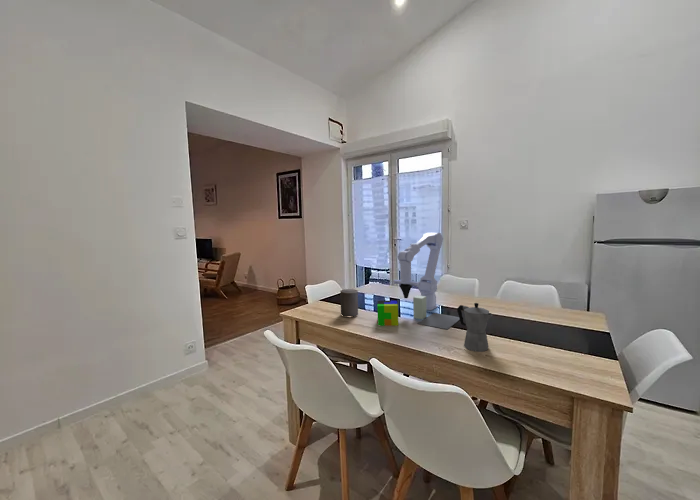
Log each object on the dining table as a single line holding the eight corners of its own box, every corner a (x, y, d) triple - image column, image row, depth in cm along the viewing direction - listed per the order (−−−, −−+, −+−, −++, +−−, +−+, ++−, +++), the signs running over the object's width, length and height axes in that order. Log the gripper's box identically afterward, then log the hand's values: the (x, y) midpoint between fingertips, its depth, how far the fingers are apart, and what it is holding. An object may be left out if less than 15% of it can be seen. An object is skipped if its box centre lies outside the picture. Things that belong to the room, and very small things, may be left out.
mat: (434, 313, 166) (434, 312, 166) (461, 318, 157) (461, 317, 157) (417, 323, 151) (417, 323, 151) (447, 329, 141) (447, 328, 141)
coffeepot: (498, 349, 118) (499, 304, 117) (484, 356, 113) (484, 308, 112) (464, 337, 131) (464, 296, 130) (450, 343, 126) (450, 300, 124)
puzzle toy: (397, 319, 159) (396, 300, 158) (398, 325, 149) (397, 305, 148) (378, 319, 160) (377, 300, 159) (377, 325, 150) (377, 305, 149)
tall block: (417, 315, 164) (417, 295, 163) (426, 316, 161) (426, 296, 160) (413, 317, 160) (412, 297, 159) (422, 319, 157) (422, 298, 156)
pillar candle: (338, 317, 165) (337, 290, 164) (344, 311, 175) (343, 286, 173) (355, 318, 163) (355, 290, 161) (360, 312, 172) (359, 286, 170)
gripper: (390, 273, 165) (390, 297, 166) (414, 275, 156) (414, 301, 157) (396, 271, 170) (397, 295, 172) (420, 273, 161) (421, 298, 162)
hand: (406, 297), depth 165 cm, fingers closed
